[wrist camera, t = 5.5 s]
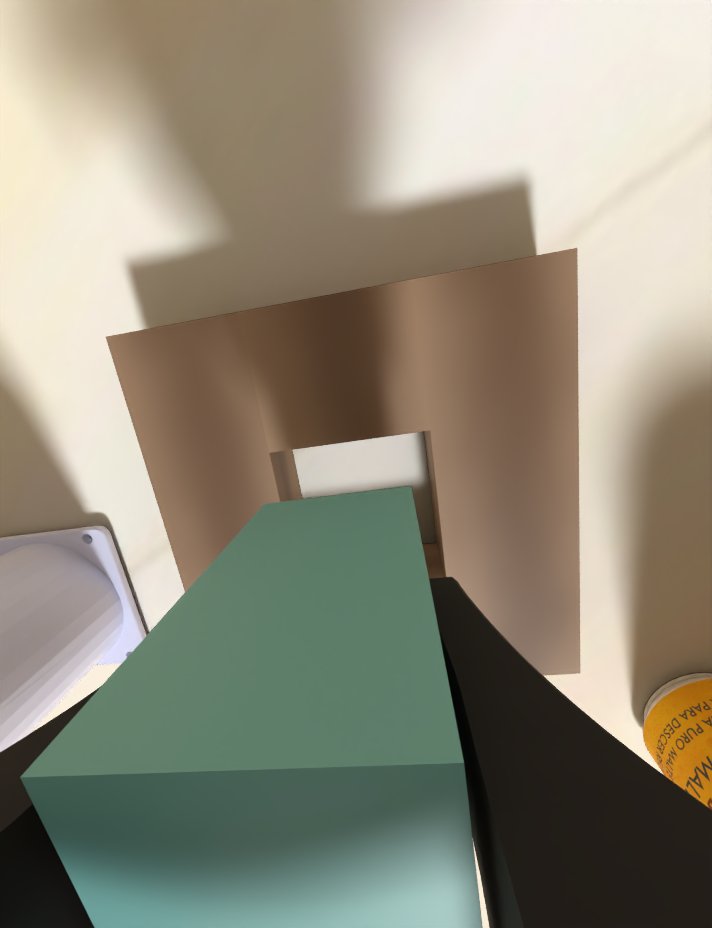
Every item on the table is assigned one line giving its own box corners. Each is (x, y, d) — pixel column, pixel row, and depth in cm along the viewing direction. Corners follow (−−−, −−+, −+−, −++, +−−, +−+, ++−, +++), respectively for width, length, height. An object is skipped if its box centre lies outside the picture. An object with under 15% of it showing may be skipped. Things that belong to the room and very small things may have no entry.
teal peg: (293, 628, 11) (147, 1033, 4) (264, 503, 10) (20, 777, 3) (427, 617, 11) (497, 1054, 4) (411, 485, 10) (465, 763, 3)
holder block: (241, 647, 20) (217, 694, 17) (155, 341, 16) (105, 336, 13) (549, 624, 18) (580, 673, 15) (538, 271, 14) (577, 247, 11)
